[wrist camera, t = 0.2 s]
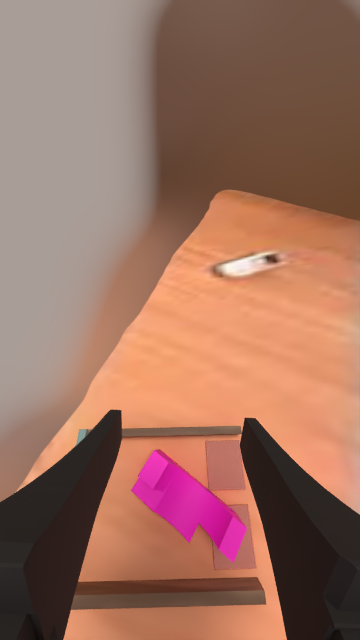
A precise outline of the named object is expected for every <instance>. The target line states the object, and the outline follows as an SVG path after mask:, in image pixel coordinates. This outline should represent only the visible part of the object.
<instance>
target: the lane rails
mask: <svg viewBox="0 0 360 640" xmlns="http://www.w3.org/2000/svg"><path fill="white" fill-rule="evenodd" d="M90 431H91V430H88V433H89V432H90ZM224 434H242V433H241V426H217V427H176V428H135V429H122V437H142V436H183V435H224ZM261 604H266V599H265V592H264V589H263V587H262V585H261V583H260V582H259V580H258V578H257V577H253V578H216V579H178V580H141V581H104V582H78V583H77V587H76V591H75V595H74V598H73V602H72V606H71V610H78V609H114V608H151V607H187V606H224V605H261Z"/></svg>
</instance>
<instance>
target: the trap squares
mask: <svg viewBox="0 0 360 640" xmlns="http://www.w3.org/2000/svg"><path fill="white" fill-rule="evenodd" d="M206 455H207V469H208V484H209V490H238V489H245V481H244V474H243V467H242V459H241V452H240V445H239V440H235V441H206ZM227 506H229V507H230V508H231V509H232V510H233V511H235V512H236V514H237V515H238V516H239V518H240V519H241V521H242V522H243V523H244V525H245V526H246V528H247V530H246V533H245V535H244V538H243V540H242V543H241V545H240V548H239V550H238V553H237V556H236V558H235V561H234V563H233V562H232V561H230V560H229V559H228V558H227V557H226V556H225V555H224V554H223V553H222V552H221V551H219V549H218V547H217V546H216V544H215V542H214V541H213V540H212V541H213V555H214V569H251V568H256V562H255V554H254V547H253V540H252V532H251V525H250V518H249V511H248V505H227Z"/></svg>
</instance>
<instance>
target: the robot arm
mask: <svg viewBox="0 0 360 640" xmlns="http://www.w3.org/2000/svg"><path fill="white" fill-rule="evenodd" d="M121 440H122V421H121V410H110V411H109V412H108V413H107V414H106V415H105V416H104V417H103V419H102V420H101V421H100V422H99V423H98V424H97V425H96V426H95V427H94V428H93V429H92V430H91V431H90V432H89V433H88V435H87V436H86V437H85V438H84V439H83V440H82V441H80V442H79V443H78V444H77V445H76V446H75V447H74V448H73V449H72V450H71V451H70V452H69V453H68V454H66V455H65V456H64V457H63V458H62V459H61V460H59V461H58V462H57V463H56V464H55V465H53V466H52V467H51V468H50V469H48V470H47V471H46V472H44V473H43V474H42V475H40V476H39V477H38V478H36V479H35V480H34V481H32V482H31V483H29V484H28V485H26V486H25V487H23V488H22V489H20V490H19V491H17V492H16V493H14V494H13V495H11V496H10V497H8V498H6V499H5V500H3V501H2V502H0V640H63V639H64V635H65V630H66V626H67V622H68V618H69V614H70V610H71V606H72V602H73V598H74V595H75V591H76V587H77V583H78V579H79V575H80V572H81V568H82V564H83V560H84V557H85V553H86V549H87V546H88V542H89V538H90V535H91V531H92V528H93V524H94V521H95V517H96V514H97V511H98V508H99V505H100V502H101V499H102V497H103V494H104V491H105V488H106V486H107V483H108V480H109V478H110V475H111V472H112V470H113V467H114V464H115V462H116V459H117V455H118V452H119V448H120V444H121ZM240 449H241V454H242V459H243V463H244V467H245V470H246V473H247V477H248V480H249V483H250V486H251V489H252V492H253V495H254V498H255V501H256V504H257V507H258V510H259V514H260V517H261V521H262V524H263V529H264V533H265V537H266V541H267V545H268V550H269V554H270V559H271V563H272V567H273V572H274V577H275V581H276V586H277V591H278V596H279V601H280V606H281V610H282V616H283V621H284V626H285V632H286V637H287V640H360V515H359V514H358V513H356V512H355V511H354V510H352V509H351V508H350V507H348V506H347V505H345V504H344V503H343V502H341V501H340V500H339V499H338V498H336V497H335V496H334V495H333V494H331V493H330V492H329V491H327V490H326V489H325V488H324V487H323V486H321V485H320V484H319V483H318V482H317V481H316V480H314V479H313V478H312V477H311V476H310V475H309V474H308V473H306V472H305V471H304V470H303V469H302V468H301V467H300V466H299V465H298V464H297V463H296V462H295V461H294V460H293V459H292V458H291V457H290V456H289V455H288V454H287V453H286V452H285V451H284V450H283V449H282V448H281V447H280V446H279V445H278V443H277V442H276V441H275V440H274V439H273V438H272V437H271V436H270V435H269V433H268V432H267V431H266V430H265V429H264V428H263V426H262V425H261V424H260V423H259V422H258V421H257V420H256V418H245V420H244V426H243V431H242V436H241V442H240Z"/></svg>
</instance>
